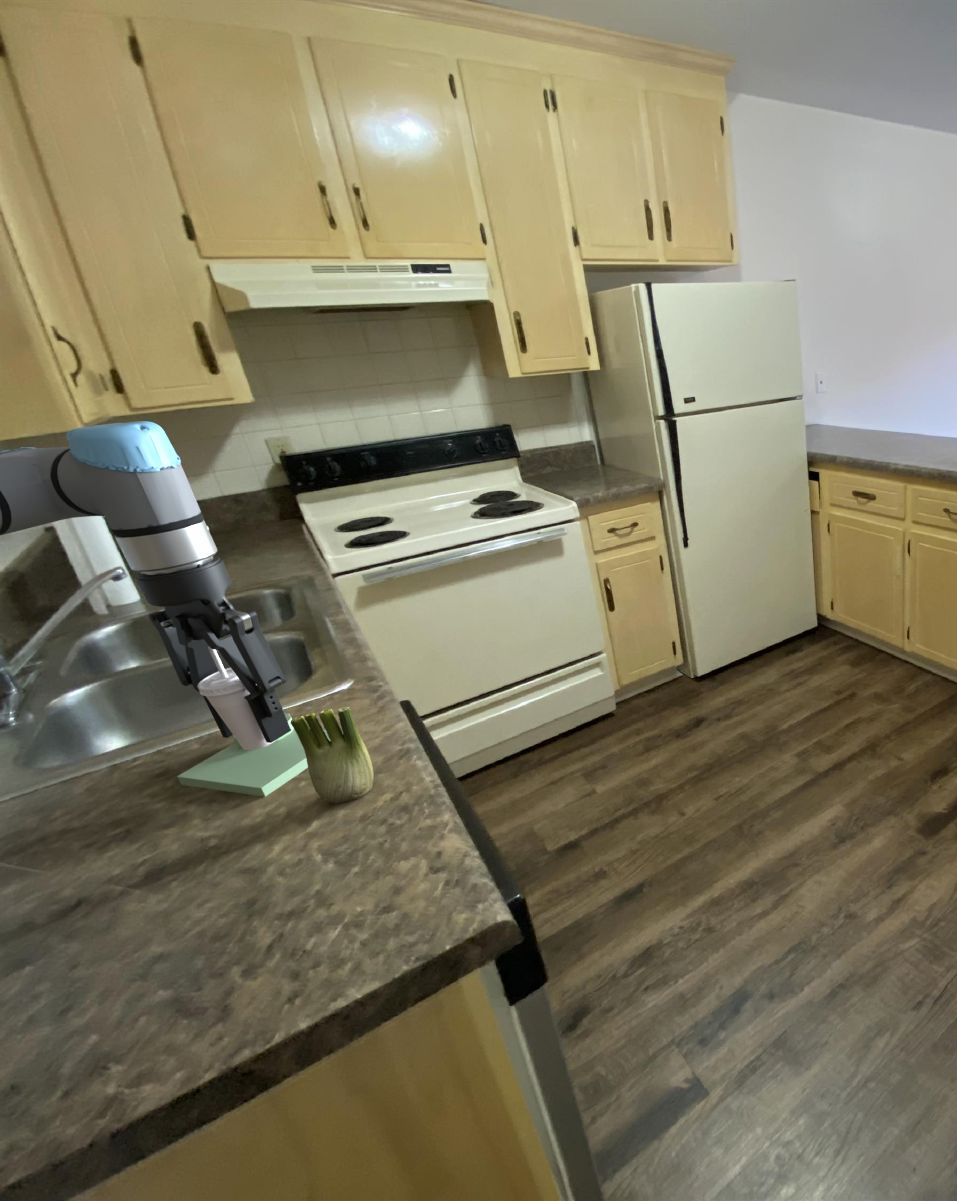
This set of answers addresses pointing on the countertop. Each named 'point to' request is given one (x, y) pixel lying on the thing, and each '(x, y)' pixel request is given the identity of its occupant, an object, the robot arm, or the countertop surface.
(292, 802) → the countertop surface
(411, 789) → the countertop surface
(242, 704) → the smoothie
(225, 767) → the scale
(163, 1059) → the countertop surface
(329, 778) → the fennel bulb
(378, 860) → the countertop surface
